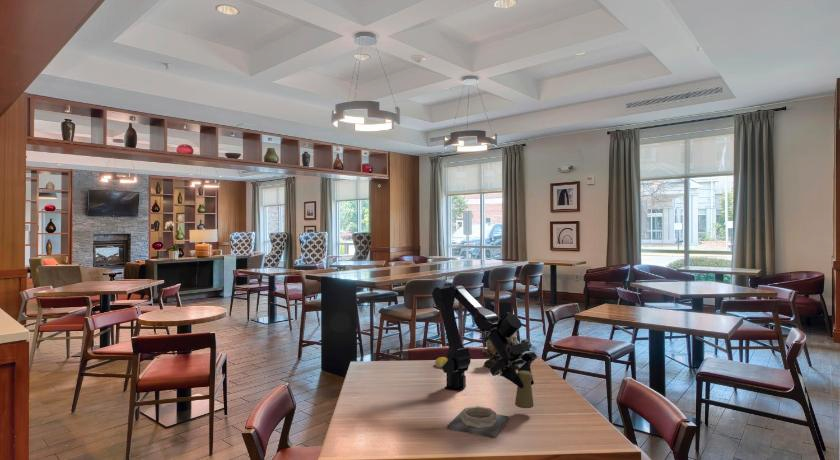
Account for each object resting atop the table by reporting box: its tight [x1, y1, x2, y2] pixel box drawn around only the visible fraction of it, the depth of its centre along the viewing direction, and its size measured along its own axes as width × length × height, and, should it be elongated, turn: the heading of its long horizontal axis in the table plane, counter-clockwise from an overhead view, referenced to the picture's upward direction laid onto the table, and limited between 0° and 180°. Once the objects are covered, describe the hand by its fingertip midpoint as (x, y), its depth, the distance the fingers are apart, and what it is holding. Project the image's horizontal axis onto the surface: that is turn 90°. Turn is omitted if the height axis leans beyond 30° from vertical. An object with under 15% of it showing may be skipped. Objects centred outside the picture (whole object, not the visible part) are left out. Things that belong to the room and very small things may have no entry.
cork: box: [514, 371, 535, 409], centre depth 155 cm, size 6×6×11 cm
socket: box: [446, 405, 510, 439], centre depth 148 cm, size 15×15×4 cm
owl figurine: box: [481, 334, 524, 370], centre depth 210 cm, size 18×12×17 cm, turn 93°
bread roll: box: [434, 356, 448, 369], centre depth 210 cm, size 8×9×4 cm
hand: (527, 385), depth 154 cm, fingers closed on cork, 5 cm apart
